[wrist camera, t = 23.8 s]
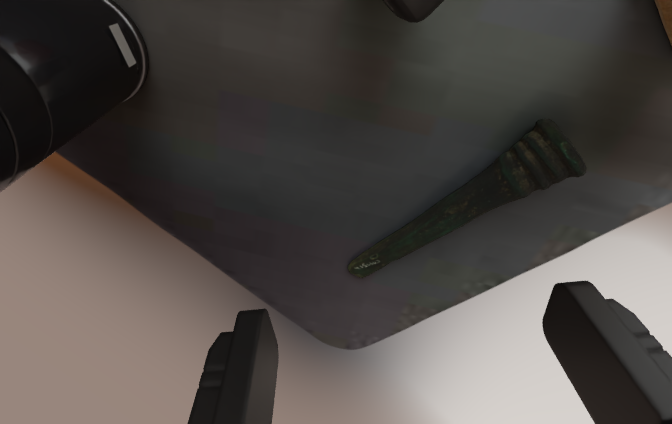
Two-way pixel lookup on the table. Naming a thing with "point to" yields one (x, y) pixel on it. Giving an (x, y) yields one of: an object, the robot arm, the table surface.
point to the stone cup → (666, 15)
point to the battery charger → (412, 8)
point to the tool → (483, 194)
